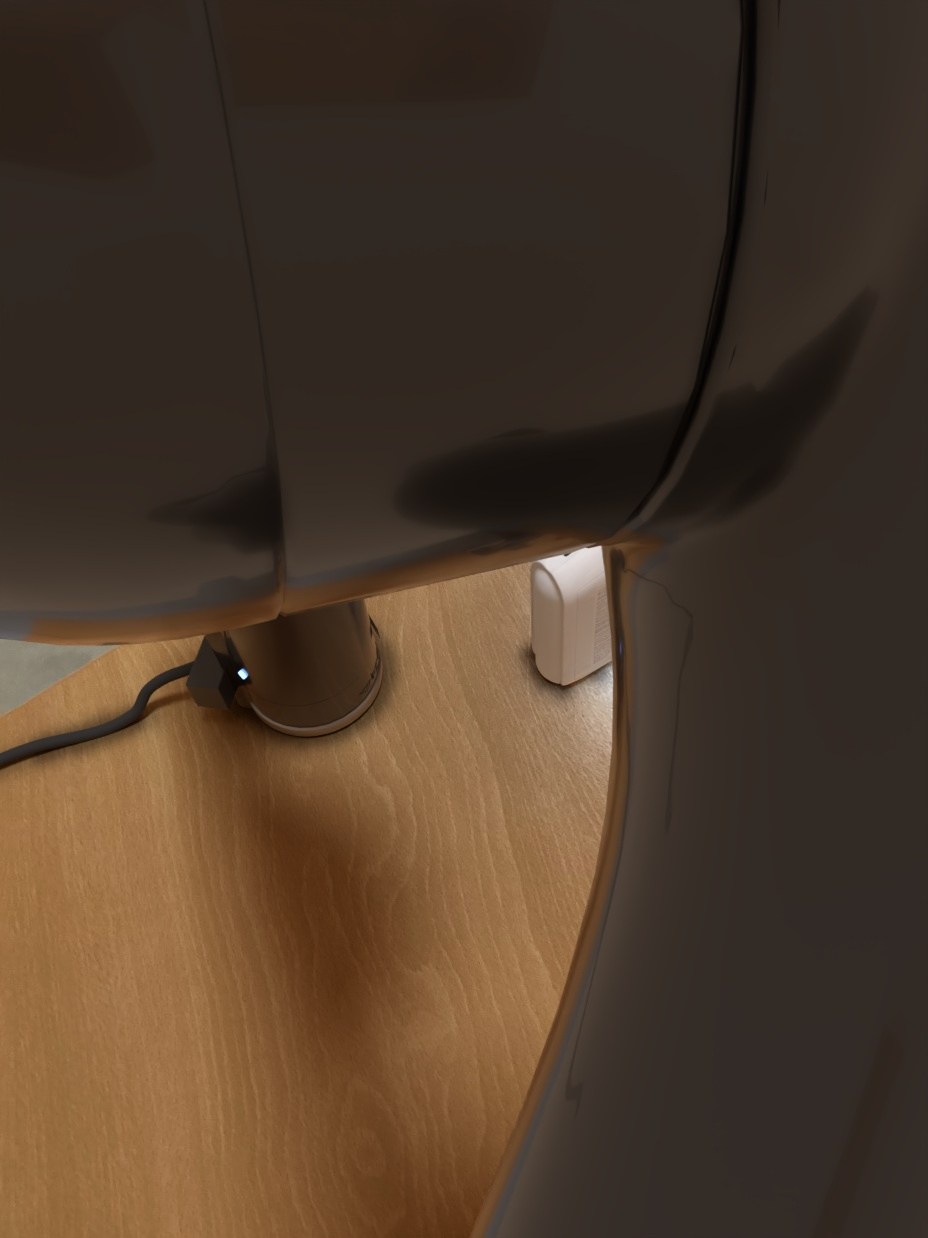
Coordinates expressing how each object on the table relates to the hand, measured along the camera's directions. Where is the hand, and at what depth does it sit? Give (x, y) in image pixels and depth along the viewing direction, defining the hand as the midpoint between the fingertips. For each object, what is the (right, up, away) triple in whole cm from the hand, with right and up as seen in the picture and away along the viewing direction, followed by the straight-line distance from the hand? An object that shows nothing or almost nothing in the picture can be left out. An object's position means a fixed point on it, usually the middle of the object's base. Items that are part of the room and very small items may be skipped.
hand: (709, 1056), depth 48 cm
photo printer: (-2, +18, +26) cm, 31 cm away
